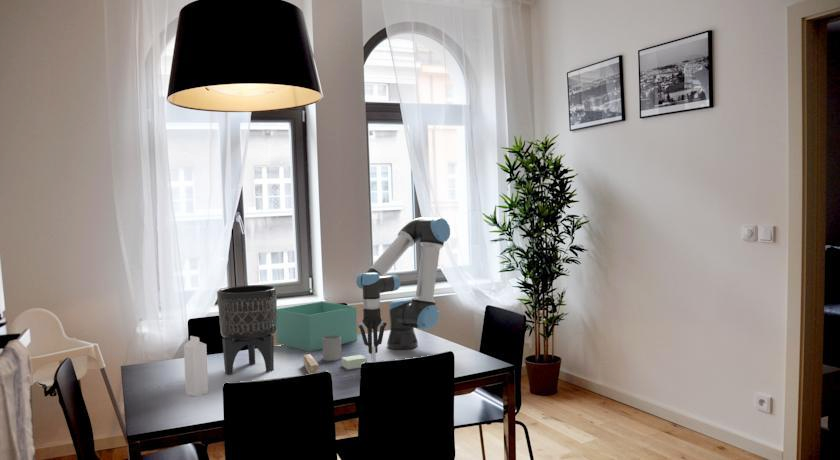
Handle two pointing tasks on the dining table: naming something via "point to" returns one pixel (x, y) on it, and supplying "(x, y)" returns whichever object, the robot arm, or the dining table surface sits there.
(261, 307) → the planter
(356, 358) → the block
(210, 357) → the dining table surface
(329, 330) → the box
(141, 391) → the dining table surface
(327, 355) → the cup
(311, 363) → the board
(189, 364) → the milk
